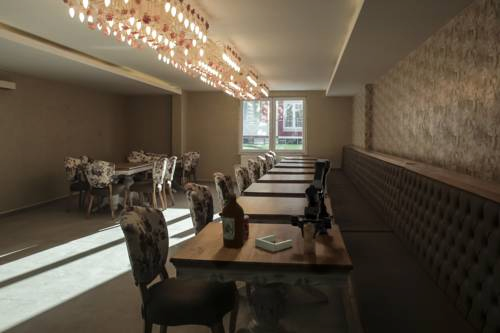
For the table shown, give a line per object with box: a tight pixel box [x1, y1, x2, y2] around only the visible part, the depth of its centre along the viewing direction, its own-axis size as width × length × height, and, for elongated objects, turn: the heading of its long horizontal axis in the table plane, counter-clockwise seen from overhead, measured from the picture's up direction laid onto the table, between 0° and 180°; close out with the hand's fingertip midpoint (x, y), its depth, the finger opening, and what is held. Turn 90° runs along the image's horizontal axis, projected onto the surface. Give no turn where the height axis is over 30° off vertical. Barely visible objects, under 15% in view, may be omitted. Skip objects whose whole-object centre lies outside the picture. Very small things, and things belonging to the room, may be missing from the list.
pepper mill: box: [303, 222, 315, 254], centre depth 174 cm, size 5×5×13 cm
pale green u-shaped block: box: [254, 234, 293, 253], centre depth 183 cm, size 12×12×3 cm
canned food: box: [243, 214, 250, 240], centre depth 198 cm, size 8×8×11 cm
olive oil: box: [221, 192, 245, 249], centre depth 183 cm, size 11×11×25 cm
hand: (308, 238), depth 173 cm, fingers closed on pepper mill, 5 cm apart
